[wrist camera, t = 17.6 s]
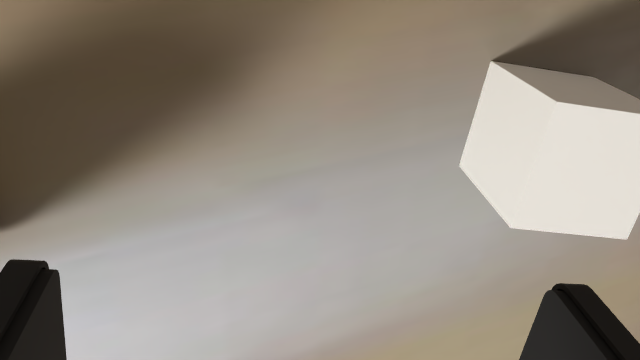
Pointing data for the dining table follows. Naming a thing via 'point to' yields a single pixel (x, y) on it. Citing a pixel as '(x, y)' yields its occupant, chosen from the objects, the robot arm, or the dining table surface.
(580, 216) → the off-white matte cube
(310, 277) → the dining table surface
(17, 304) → the robot arm
